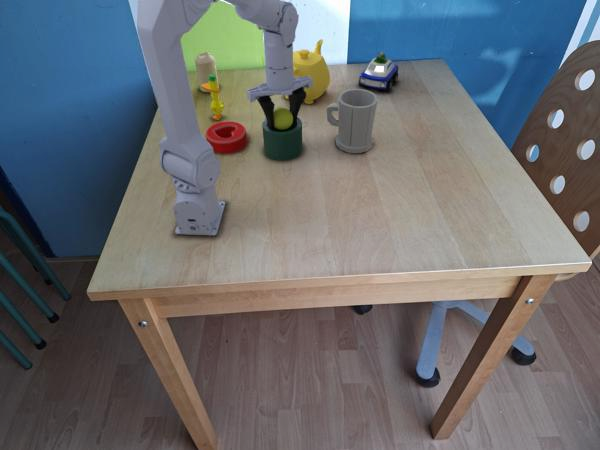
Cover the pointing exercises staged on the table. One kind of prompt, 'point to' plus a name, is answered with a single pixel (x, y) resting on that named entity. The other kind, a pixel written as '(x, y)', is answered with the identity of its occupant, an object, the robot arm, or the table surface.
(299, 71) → the teapot
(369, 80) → the toy car
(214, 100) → the toy figure
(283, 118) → the ball
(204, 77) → the candle
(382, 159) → the table surface
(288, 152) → the jar
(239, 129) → the decorative ornament
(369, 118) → the cup
